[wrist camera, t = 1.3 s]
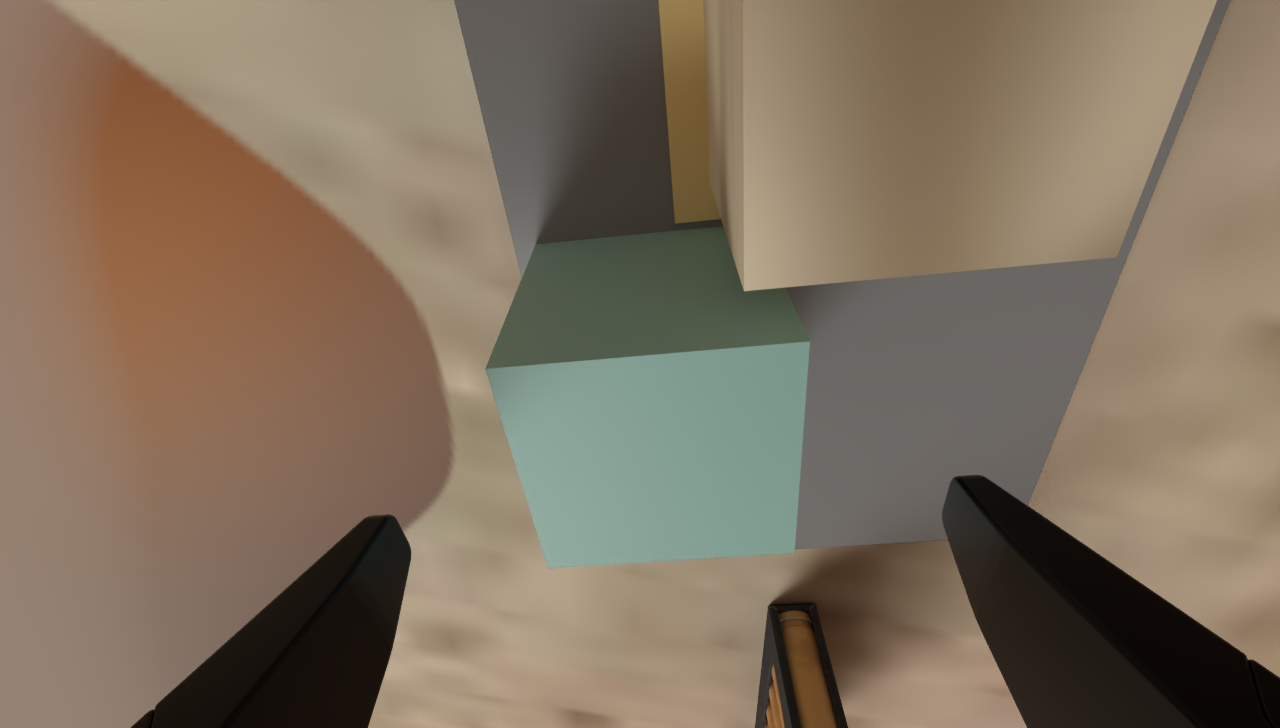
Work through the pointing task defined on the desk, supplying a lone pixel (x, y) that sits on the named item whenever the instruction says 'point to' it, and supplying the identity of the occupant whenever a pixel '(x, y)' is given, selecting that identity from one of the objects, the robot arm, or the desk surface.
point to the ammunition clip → (797, 673)
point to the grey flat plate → (830, 313)
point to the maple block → (935, 130)
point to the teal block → (652, 401)
